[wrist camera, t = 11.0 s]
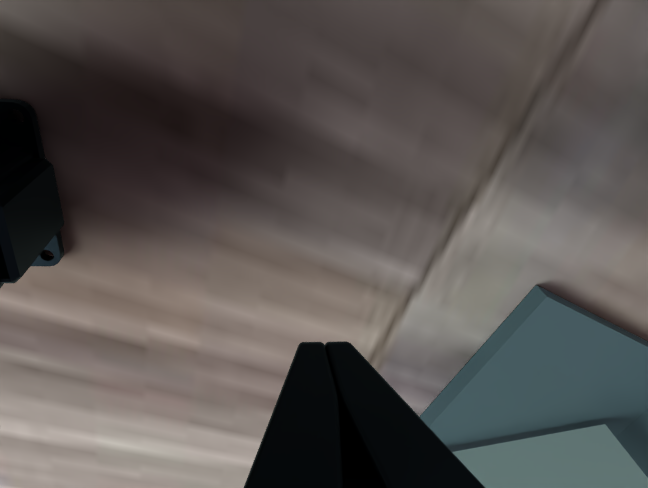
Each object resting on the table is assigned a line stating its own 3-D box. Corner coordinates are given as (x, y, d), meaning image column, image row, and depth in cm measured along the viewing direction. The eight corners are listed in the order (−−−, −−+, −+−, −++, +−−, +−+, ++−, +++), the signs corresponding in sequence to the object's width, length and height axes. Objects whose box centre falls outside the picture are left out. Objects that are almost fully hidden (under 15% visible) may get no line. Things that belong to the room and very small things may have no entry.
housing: (392, 447, 28) (412, 512, 25) (536, 284, 23) (585, 337, 20) (542, 491, 32) (577, 551, 29) (689, 362, 28) (751, 416, 24)
